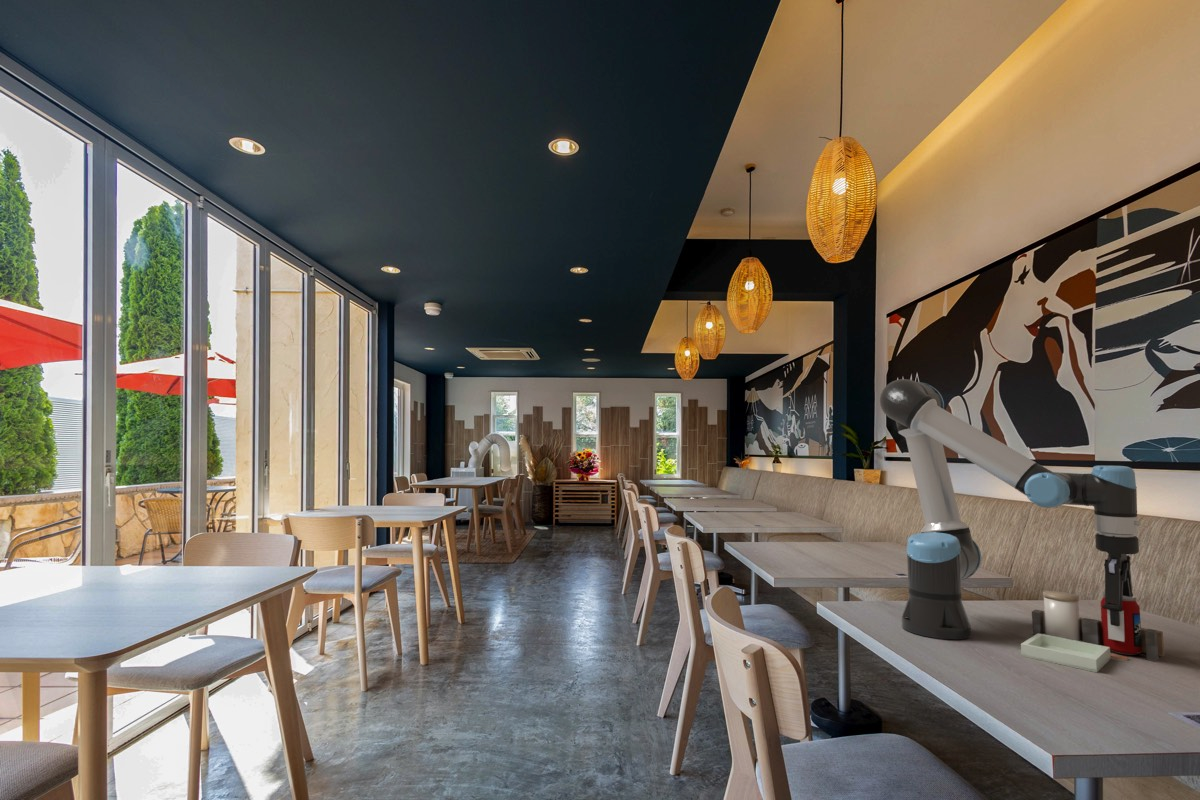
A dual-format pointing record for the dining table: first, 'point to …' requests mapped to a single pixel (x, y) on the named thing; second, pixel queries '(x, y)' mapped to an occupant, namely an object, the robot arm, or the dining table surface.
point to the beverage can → (1131, 628)
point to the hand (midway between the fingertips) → (1120, 634)
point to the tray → (1066, 652)
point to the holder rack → (1093, 635)
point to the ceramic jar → (1062, 615)
